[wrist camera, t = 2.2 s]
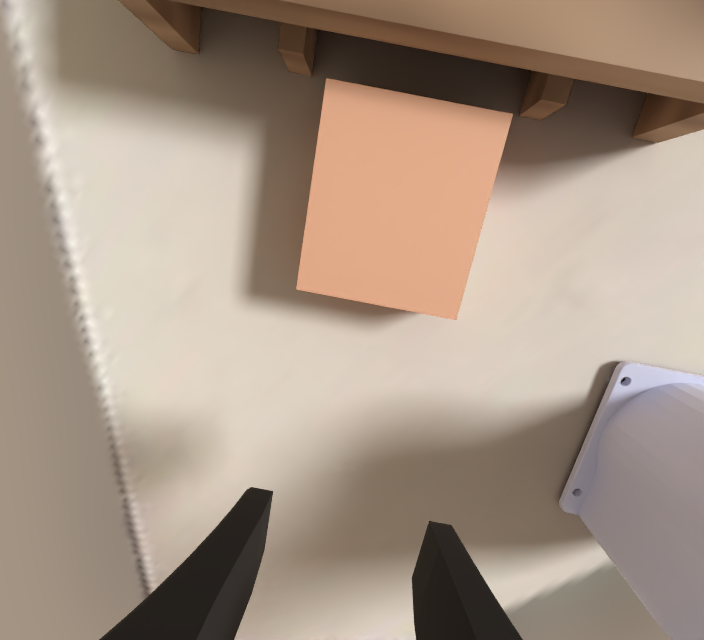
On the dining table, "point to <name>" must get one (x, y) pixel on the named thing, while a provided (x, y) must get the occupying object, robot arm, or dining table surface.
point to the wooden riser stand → (500, 43)
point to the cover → (398, 197)
